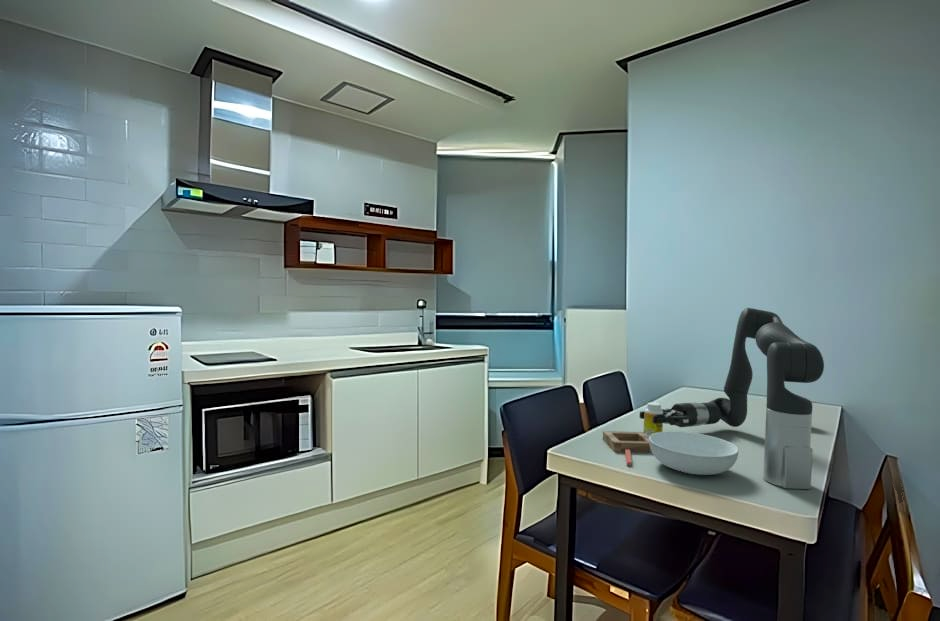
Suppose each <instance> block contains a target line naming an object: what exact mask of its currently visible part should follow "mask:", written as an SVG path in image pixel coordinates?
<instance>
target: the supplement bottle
mask: <svg viewBox="0 0 940 621" xmlns="http://www.w3.org/2000/svg"><path fill="white" fill-rule="evenodd" d="M646 406H647V407H646V408H645V409H644V419H643V433H644V434H646V435H647V436H648V437H649V436H650V435H652V434H654V433H658V432H663V426H664V423H657V424H655V423H653V416H661V415H663V411H662V410H660V409H662V404H660V402H659V403H658V402H647V405H646Z"/></svg>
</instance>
